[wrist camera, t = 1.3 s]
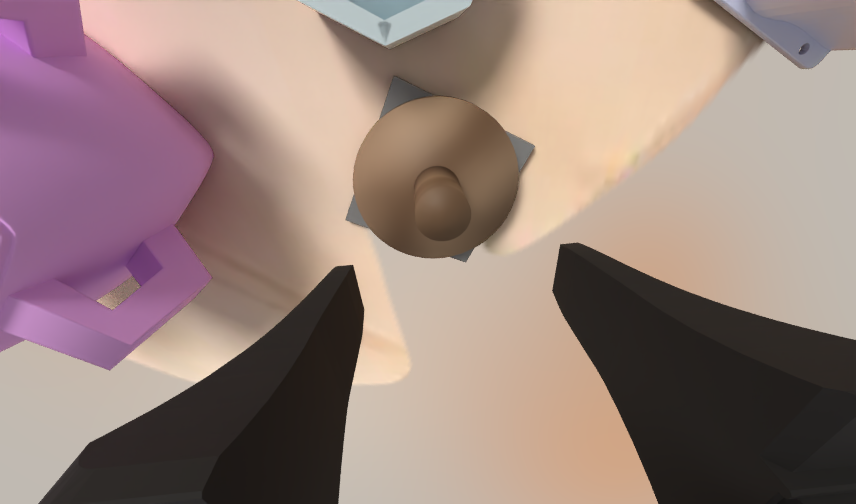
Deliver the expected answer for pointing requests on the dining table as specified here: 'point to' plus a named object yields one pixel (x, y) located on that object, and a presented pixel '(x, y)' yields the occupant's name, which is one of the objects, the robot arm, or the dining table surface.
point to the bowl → (390, 16)
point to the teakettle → (88, 191)
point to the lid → (435, 177)
